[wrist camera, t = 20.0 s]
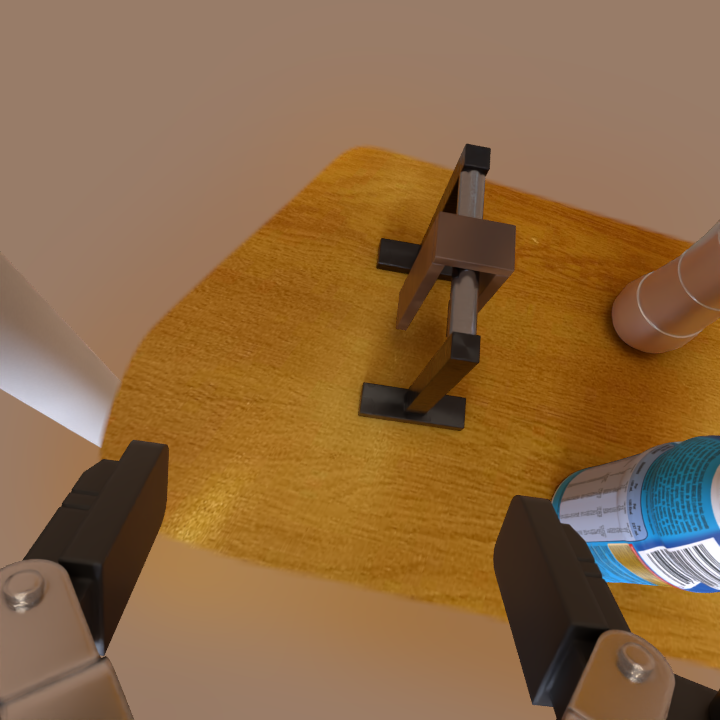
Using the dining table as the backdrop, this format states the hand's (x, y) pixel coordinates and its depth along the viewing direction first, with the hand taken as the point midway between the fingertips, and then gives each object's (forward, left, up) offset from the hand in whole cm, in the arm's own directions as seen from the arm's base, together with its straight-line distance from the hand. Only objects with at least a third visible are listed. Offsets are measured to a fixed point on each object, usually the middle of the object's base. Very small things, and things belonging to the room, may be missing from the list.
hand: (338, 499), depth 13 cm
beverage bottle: (+22, +4, -29) cm, 36 cm away
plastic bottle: (+26, +21, -29) cm, 44 cm away
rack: (+7, +17, -29) cm, 34 cm away
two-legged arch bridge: (+7, +17, -25) cm, 31 cm away
